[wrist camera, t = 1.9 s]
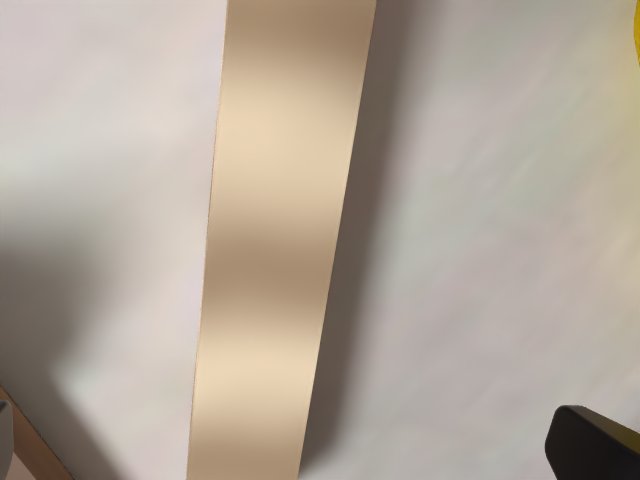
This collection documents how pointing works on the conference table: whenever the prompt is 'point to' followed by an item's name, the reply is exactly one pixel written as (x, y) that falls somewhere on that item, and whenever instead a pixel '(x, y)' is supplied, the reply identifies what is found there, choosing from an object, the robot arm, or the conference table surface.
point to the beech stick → (273, 228)
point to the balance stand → (31, 451)
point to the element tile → (637, 29)
